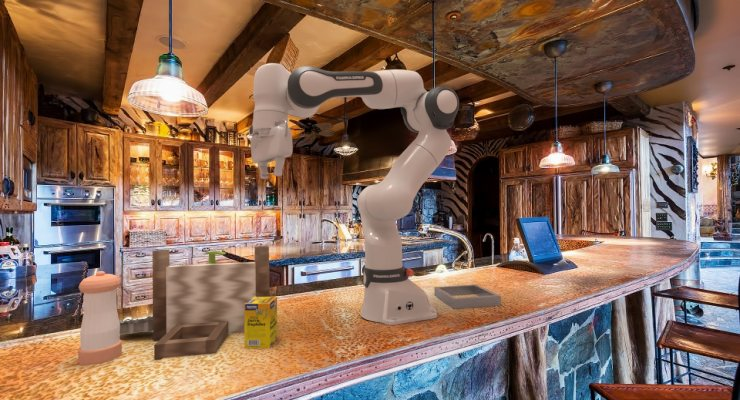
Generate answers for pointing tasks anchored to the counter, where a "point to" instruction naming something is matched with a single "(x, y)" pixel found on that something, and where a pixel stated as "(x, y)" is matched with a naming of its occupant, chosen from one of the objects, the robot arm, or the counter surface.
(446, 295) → the frame
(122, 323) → the egg carton
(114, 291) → the pepper shaker
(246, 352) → the counter surface
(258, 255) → the wooden display stand
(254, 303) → the supplement box
